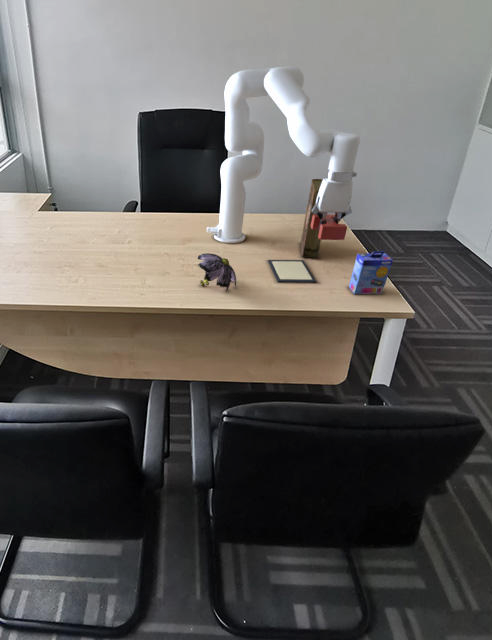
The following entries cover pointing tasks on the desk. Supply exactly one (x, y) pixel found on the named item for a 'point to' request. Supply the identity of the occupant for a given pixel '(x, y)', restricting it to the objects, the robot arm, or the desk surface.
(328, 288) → the desk surface
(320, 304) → the desk surface
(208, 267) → the decorative flower
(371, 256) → the ink cartridge box
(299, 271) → the desk mat
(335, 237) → the letter I
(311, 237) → the book
